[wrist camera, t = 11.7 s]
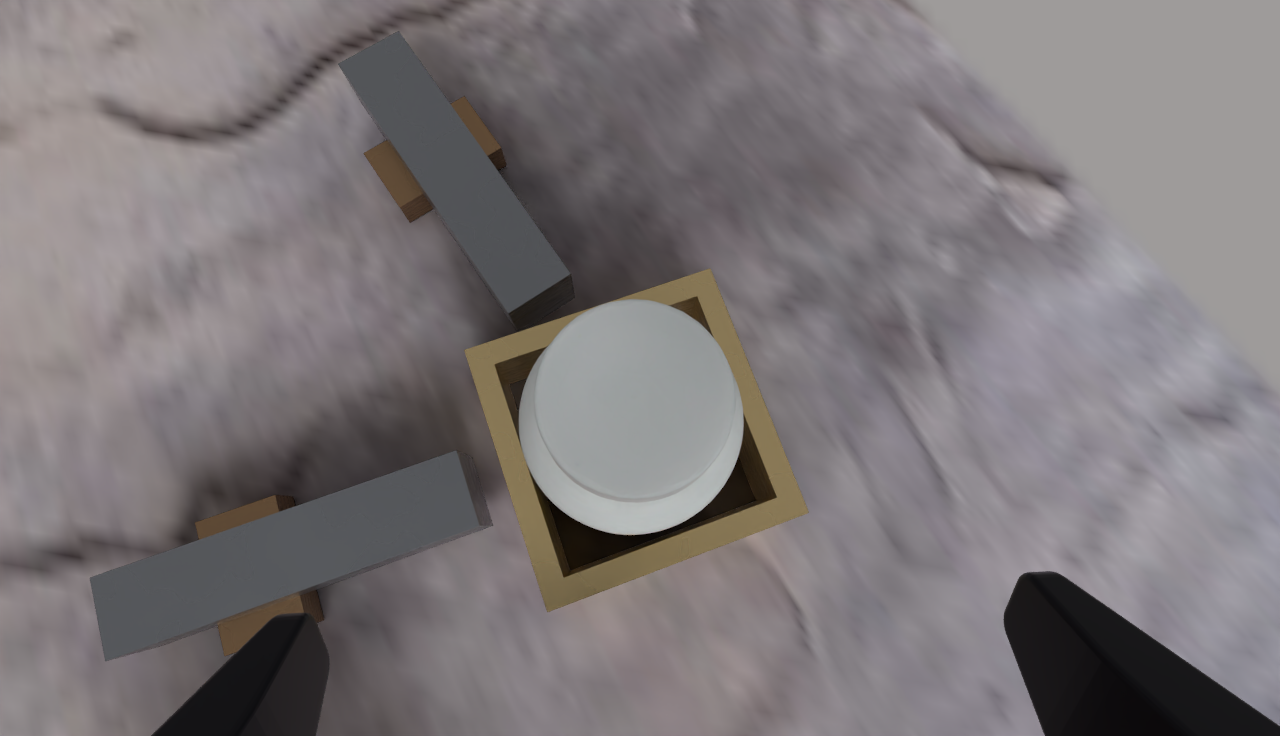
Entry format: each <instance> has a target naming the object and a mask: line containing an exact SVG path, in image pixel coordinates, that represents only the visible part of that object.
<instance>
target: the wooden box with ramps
mask: <svg viewBox="0 0 1280 736" xmlns="http://www.w3.org/2000/svg"><path fill="white" fill-rule="evenodd" d="M338 65H339V67H340V68H341V70H342V71H343V73H344V75H345V76H346V78H347V80H348V81H349V83H350V85H351V86H352V88H353V90H354V91H355V93H356V95H357V96H358V98H359V100H360V101H361V103H362V105H363V106H364V108H365V109H366V111H367V112H368V114H369V115H370V117H371V118H372V119H373V121H374V122H375V124H376V125H377V127H378V128H379V130H380V131H381V133H382V134H383V136H384V137H385V138H386V141H384V142H383V143H381V144H379V145H377V146H376V147H374V148H372V149H370V150H369V151H367V152H365V153H364V155H365V156H366V158H367V159H368V161H369V162H370V164H371V165H372V167H373V168H374V170H375V171H376V173H377V174H378V176H379V177H380V179H381V180H382V182H383V183H384V185H385V186H386V188H387V189H388V191H389V192H390V194H391V195H392V197H393V198H394V200H395V201H396V203H397V204H398V205H399V207H400V208H401V210H402V211H403V213H404V214H405V216H406V217H407V219H408V220H409V222H412V221H414V220H415V219H417V218H419V217H420V216H422V215H424V214H425V213H427V212H429V211H431V210H432V209H434V210H435V212H436V213H437V215H438V216H439V218H440V219H441V221H442V222H443V224H444V225H445V226H446V228H447V229H448V231H449V232H450V234H451V235H452V237H453V238H454V240H455V241H456V243H457V244H458V246H459V247H460V248H461V250H462V251H463V253H464V254H465V256H466V257H467V259H468V260H469V262H470V263H471V265H472V266H473V268H474V269H475V270H476V272H477V273H478V275H479V276H480V278H481V279H482V281H483V282H484V284H485V285H486V287H487V288H488V290H489V291H490V292H491V294H492V295H493V297H494V298H495V300H496V301H497V303H498V304H499V306H500V307H501V309H502V310H503V312H504V313H505V314H506V316H507V317H508V319H509V320H510V322H511V323H512V325H513V326H514V328H515V329H516V331H517V333H514V334H511V335H508V336H505V337H502V338H499V339H496V340H493V341H490V342H487V343H484V344H481V345H478V346H475V347H472V348H469V349H466V350H464V351H465V354H466V357H467V361H468V364H469V367H470V370H471V373H472V376H473V379H474V383H475V386H476V389H477V392H478V395H479V398H480V402H481V405H482V408H483V411H484V414H485V417H486V420H487V424H488V427H489V430H490V433H491V436H492V439H493V443H494V446H495V449H496V452H497V455H498V458H499V462H500V465H501V468H502V471H503V474H504V477H505V480H506V484H507V487H508V490H509V493H510V496H511V499H512V503H513V506H514V509H515V512H516V515H517V518H518V521H519V525H520V528H521V531H522V534H523V537H524V540H525V544H526V547H527V550H528V553H529V556H530V559H531V562H532V566H533V569H534V572H535V575H536V578H537V581H538V585H539V588H540V591H541V594H542V597H543V600H544V603H545V607H546V610H547V612H550V611H552V610H555V609H557V608H560V607H563V606H565V605H568V604H571V603H573V602H576V601H578V600H581V599H584V598H586V597H589V596H592V595H594V594H597V593H599V592H602V591H605V590H607V589H610V588H613V587H615V586H618V585H620V584H623V583H626V582H628V581H631V580H634V579H636V578H639V577H641V576H644V575H647V574H649V573H652V572H655V571H657V570H660V569H662V568H665V567H668V566H670V565H673V564H676V563H678V562H681V561H683V560H686V559H689V558H691V557H694V556H697V555H699V554H702V553H705V552H707V551H710V550H712V549H715V548H718V547H720V546H723V545H726V544H728V543H731V542H733V541H736V540H739V539H741V538H744V537H747V536H749V535H752V534H754V533H757V532H760V531H762V530H765V529H768V528H770V527H773V526H775V525H778V524H781V523H783V522H786V521H789V520H791V519H794V518H796V517H799V516H802V515H804V514H807V513H809V512H808V509H807V507H806V504H805V502H804V499H803V497H802V494H801V492H800V489H799V487H798V484H797V482H796V479H795V477H794V474H793V472H792V469H791V467H790V464H789V462H788V460H787V457H786V455H785V452H784V450H783V447H782V445H781V442H780V440H779V437H778V435H777V432H776V430H775V427H774V425H773V422H772V420H771V417H770V415H769V413H768V410H767V408H766V405H765V403H764V400H763V398H762V395H761V393H760V390H759V388H758V385H757V383H756V380H755V378H754V375H753V373H752V370H751V368H750V365H749V363H748V361H747V358H746V356H745V353H744V351H743V348H742V346H741V343H740V341H739V338H738V336H737V333H736V331H735V328H734V326H733V323H732V321H731V318H730V316H729V314H728V311H727V309H726V306H725V304H724V301H723V299H722V296H721V294H720V291H719V289H718V286H717V284H716V281H715V279H714V276H713V274H712V271H711V269H707V270H704V271H701V272H698V273H695V274H692V275H689V276H686V277H683V278H680V279H677V280H674V281H670V282H667V283H664V284H661V285H658V286H655V287H652V288H649V289H646V290H643V291H640V292H637V293H634V294H631V295H628V296H625V297H622V298H619V299H616V300H613V301H610V302H614V301H620V300H628V299H639V300H650V301H655V302H659V303H662V304H665V305H668V306H671V307H673V308H676V309H678V310H680V311H683V312H684V313H686V314H687V315H689V316H690V317H692V318H693V319H695V320H696V321H698V322H699V323H700V324H701V325H702V326H703V327H704V328H705V329H706V330H707V331H708V332H709V333H710V334H711V335H712V337H713V338H714V339H715V340H716V341H717V343H718V344H719V346H720V347H721V349H722V351H723V353H724V355H725V357H726V359H727V361H728V363H729V366H730V368H731V370H732V373H733V375H734V378H735V380H736V382H737V385H738V388H739V392H740V396H741V401H742V406H743V418H744V427H743V438H742V443H741V448H740V452H739V455H738V457H739V459H740V462H741V464H742V467H743V469H744V472H745V475H746V477H747V480H748V482H749V485H750V487H751V490H752V492H753V495H754V498H755V500H756V501H754V502H751V503H749V504H746V505H743V506H741V507H738V508H735V509H733V510H730V511H727V512H725V513H722V514H719V515H717V516H714V517H711V518H709V519H706V520H703V521H701V522H698V523H695V524H693V525H690V526H687V527H685V528H682V529H679V530H677V531H674V532H671V533H669V534H666V535H663V536H661V537H658V538H655V539H653V540H650V541H647V542H645V543H642V544H639V545H637V546H634V547H631V548H629V549H626V550H623V551H621V552H618V553H615V554H613V555H610V556H607V557H605V558H602V559H599V560H597V561H594V562H591V563H589V564H586V565H583V566H581V567H578V568H575V569H573V570H570V568H569V565H568V562H567V559H566V556H565V552H564V549H563V546H562V543H561V540H560V537H559V534H558V531H557V528H556V525H555V522H554V519H553V516H552V513H551V510H550V507H549V504H548V501H547V498H546V495H545V494H544V493H543V491H542V490H541V489H540V487H539V486H538V484H537V483H536V481H535V479H534V478H533V476H532V474H531V472H530V470H529V468H528V466H527V463H526V460H525V457H524V454H523V451H522V447H521V442H520V435H519V412H518V409H517V406H516V403H515V400H514V397H513V394H512V391H511V388H510V385H509V384H512V383H515V382H518V381H521V380H524V379H527V378H528V376H529V374H530V371H531V370H532V368H533V366H534V364H535V363H536V361H537V359H538V358H539V356H540V355H541V354H542V352H543V351H544V350H545V349H546V348H547V347H548V345H549V344H550V343H551V342H552V341H553V340H554V338H555V337H556V336H557V334H558V333H559V332H560V331H561V330H562V329H563V328H564V327H565V326H566V325H567V324H569V323H570V322H571V321H572V320H573V319H575V318H576V317H577V316H579V315H581V314H582V313H584V312H586V311H588V310H590V309H592V308H594V307H592V308H589V309H586V310H583V311H580V312H577V313H574V314H571V315H568V316H565V317H562V318H559V319H556V320H553V321H550V322H547V323H544V324H541V325H538V326H535V327H532V328H529V329H526V328H528V327H529V326H531V325H533V324H534V323H536V322H537V321H539V320H540V319H542V318H543V317H545V316H547V315H548V314H550V313H551V312H553V311H554V310H556V309H558V308H559V307H561V306H562V305H564V304H565V303H567V302H568V301H570V300H572V299H573V298H575V295H574V289H573V283H572V278H571V273H570V272H569V270H568V269H567V268H566V266H565V265H564V263H563V262H562V261H561V259H560V258H559V256H558V255H557V254H556V252H555V251H554V249H553V248H552V247H551V245H550V244H549V242H548V241H547V239H546V238H545V237H544V235H543V234H542V232H541V231H540V230H539V228H538V227H537V225H536V224H535V223H534V221H533V220H532V218H531V217H530V216H529V214H528V213H527V211H526V210H525V208H524V207H523V206H522V204H521V203H520V201H519V200H518V199H517V197H516V196H515V194H514V193H513V192H512V190H511V189H510V187H509V186H508V185H507V183H506V182H505V180H504V179H503V177H502V176H501V175H500V173H499V172H498V170H500V169H501V168H503V167H505V166H506V162H505V159H504V156H503V152H502V149H501V147H500V145H499V144H498V143H497V141H496V140H495V138H494V137H493V136H492V134H491V133H490V131H489V130H488V129H487V127H486V126H485V124H484V123H483V122H482V120H481V119H480V117H479V116H478V115H477V113H476V112H475V110H474V109H473V108H472V106H471V105H470V103H469V102H468V101H467V99H466V98H465V96H464V97H462V98H460V99H458V100H456V101H455V102H453V103H451V104H450V103H449V101H448V100H447V99H446V97H445V96H444V94H443V93H442V92H441V90H440V89H439V87H438V86H437V85H436V83H435V82H434V80H433V79H432V77H431V76H430V75H429V73H428V72H427V70H426V69H425V68H424V66H423V65H422V63H421V62H420V61H419V59H418V58H417V56H416V55H415V54H414V52H413V51H412V49H411V48H410V46H409V45H408V44H407V42H406V41H405V39H404V38H403V37H402V35H401V34H400V32H399V31H398V32H396V33H394V34H392V35H390V36H389V37H387V38H385V39H383V40H381V41H379V42H377V43H376V44H374V45H372V46H370V47H368V48H366V49H365V50H363V51H361V52H359V53H357V54H355V55H353V56H352V57H350V58H348V59H346V60H344V61H342V62H341V63H339V64H338ZM607 303H608V302H607ZM604 304H605V303H604ZM601 305H602V304H601ZM598 306H599V305H598ZM595 307H597V306H595ZM525 329H526V330H525ZM195 525H196V529H197V534H198V538H199V540H197V541H194V542H191V543H188V544H186V545H183V546H180V547H177V548H174V549H171V550H168V551H165V552H163V553H160V554H157V555H154V556H151V557H148V558H145V559H142V560H140V561H137V562H134V563H131V564H128V565H125V566H122V567H119V568H117V569H114V570H111V571H108V572H105V573H102V574H99V575H97V576H94V577H91V578H90V582H91V587H92V592H93V598H94V603H95V608H96V614H97V619H98V624H99V630H100V635H101V640H102V646H103V651H104V657H105V661H109V660H112V659H116V658H119V657H123V656H127V655H130V654H134V653H138V652H141V651H145V650H149V649H152V648H156V647H160V646H163V645H165V644H168V643H171V642H174V641H176V640H179V639H182V638H185V637H187V636H190V635H193V634H196V633H198V632H201V631H204V630H207V629H210V628H212V627H215V626H218V629H219V633H220V638H221V642H222V647H223V651H224V656H227V655H230V654H233V653H236V652H237V651H238V650H239V649H240V648H241V647H242V646H243V645H244V644H245V643H246V642H247V641H248V640H250V639H251V638H252V637H253V636H254V635H255V634H256V633H257V632H258V631H259V630H260V629H261V628H262V627H263V626H264V625H265V624H266V623H267V622H268V621H269V620H270V619H272V618H273V617H275V616H277V615H280V614H289V613H309V614H311V615H312V616H313V617H314V618H315V620H316V623H318V622H321V621H323V620H324V617H323V613H322V609H321V605H320V601H319V597H318V593H317V589H320V588H322V587H325V586H328V585H331V584H334V583H336V582H339V581H342V580H345V579H347V578H350V577H353V576H356V575H358V574H361V573H364V572H367V571H369V570H372V569H375V568H378V567H380V566H383V565H386V564H389V563H391V562H394V561H397V560H400V559H402V558H405V557H408V556H411V555H413V554H416V553H419V552H422V551H424V550H427V549H430V548H433V547H435V546H438V545H441V544H444V543H446V542H449V541H452V540H455V539H458V538H460V537H463V536H466V535H469V534H471V533H474V532H477V531H480V530H482V529H485V528H488V527H491V526H493V523H492V520H491V517H490V513H489V510H488V507H487V504H486V501H485V497H484V494H483V491H482V488H481V484H480V481H479V478H478V475H477V471H476V468H475V465H474V462H473V458H472V457H470V456H468V455H466V454H464V453H461V452H459V451H457V450H455V451H453V452H450V453H447V454H444V455H441V456H438V457H435V458H433V459H430V460H427V461H424V462H421V463H418V464H415V465H412V466H410V467H407V468H404V469H401V470H398V471H395V472H392V473H389V474H387V475H384V476H381V477H378V478H375V479H372V480H369V481H366V482H364V483H361V484H358V485H355V486H352V487H349V488H346V489H343V490H341V491H338V492H335V493H332V494H329V495H326V496H323V497H321V498H318V499H315V500H312V501H309V502H306V503H303V504H300V505H298V506H295V502H294V498H293V496H282V495H273V496H270V497H268V498H265V499H262V500H259V501H256V502H253V503H250V504H247V505H244V506H241V507H239V508H236V509H233V510H230V511H227V512H224V513H221V514H218V515H215V516H213V517H210V518H207V519H204V520H201V521H198V522H195Z"/></svg>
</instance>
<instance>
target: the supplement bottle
mask: <svg viewBox="0 0 1280 736" xmlns="http://www.w3.org/2000/svg"><path fill="white" fill-rule="evenodd" d="M743 427H744V418H743V406H742V401H741V396H740V392H739V388H738V385H737V382H736V380H735V378H734V375H733V373H732V370H731V368H730V366H729V363H728V361H727V359H726V357H725V355H724V353H723V351H722V349H721V347H720V346H719V344H718V343H717V341H716V340H715V339H714V338H713V337H712V335H711V334H710V333H709V332H708V331H707V330H706V329H705V328H704V327H703V326H702V325H701V324H700V323H699V322H698V321H696V320H695V319H693V318H692V317H690V316H689V315H687V314H686V313H684V312H683V311H680V310H678V309H676V308H673V307H671V306H668V305H665V304H662V303H659V302H655V301H650V300H639V299H628V300H620V301H614V302H608V303H605V304H602V305H599V306H597V307H594V308H592V309H590V310H588V311H586V312H584V313H582V314H581V315H579V316H577V317H576V318H575V319H573V320H572V321H571V322H570V323H569V324H567V325H566V326H565V327H564V328H563V329H562V330H561V331H560V332H559V333H558V334H557V336H556V337H555V338H554V340H553V341H552V342H551V343H550V344H549V345H548V347H547V348H546V349H545V350H544V351H543V352H542V354H541V355H540V356H539V358H538V359H537V361H536V363H535V364H534V366H533V368H532V370H531V371H530V374H529V376H528V378H527V381H526V383H525V386H524V389H523V393H522V397H521V402H520V408H519V435H520V442H521V447H522V451H523V454H524V457H525V460H526V463H527V466H528V468H529V470H530V472H531V474H532V476H533V478H534V479H535V481H536V483H537V484H538V486H539V487H540V489H541V490H542V491H543V493H544V494H545V495H546V496H547V497H548V498H549V499H550V500H551V501H552V503H553V504H555V505H556V506H557V507H558V508H559V509H560V510H562V511H563V512H564V513H566V514H567V515H568V516H570V517H571V518H573V519H575V520H577V521H579V522H580V523H582V524H584V525H587V526H589V527H591V528H594V529H597V530H601V531H604V532H608V533H613V534H621V535H639V534H648V533H654V532H658V531H662V530H665V529H668V528H671V527H673V526H676V525H678V524H680V523H682V522H684V521H686V520H688V519H689V518H691V517H692V516H694V515H695V514H697V513H698V512H699V511H701V510H702V509H703V508H704V507H706V506H707V505H708V504H709V503H710V502H711V501H712V500H713V499H714V498H715V496H716V495H717V494H718V493H719V492H720V490H721V489H722V488H723V486H724V485H725V483H726V482H727V480H728V478H729V476H730V475H731V473H732V471H733V469H734V466H735V464H736V461H737V458H738V455H739V452H740V448H741V443H742V438H743Z"/></svg>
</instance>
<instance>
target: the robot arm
mask: <svg viewBox="0 0 1280 736" xmlns="http://www.w3.org/2000/svg"><path fill="white" fill-rule="evenodd" d="M1004 627H1005V631H1006V635H1007V637H1008V640H1009V642H1010V645H1011V648H1012V650H1013V653H1014V656H1015V658H1016V661H1017V664H1018V666H1019V669H1020V671H1021V674H1022V677H1023V679H1024V682H1025V685H1026V687H1027V690H1028V693H1029V695H1030V698H1031V701H1032V703H1033V706H1034V708H1035V711H1036V714H1037V716H1038V719H1039V722H1040V724H1041V727H1042V730H1043V732H1044V734H1045V736H1280V726H1279V725H1277V724H1276V723H1274V722H1273V721H1272V720H1270V719H1269V718H1267V717H1266V716H1264V715H1263V714H1261V713H1260V712H1259V711H1257V710H1256V709H1254V708H1253V707H1251V706H1250V705H1248V704H1247V703H1246V702H1244V701H1243V700H1241V699H1240V698H1238V697H1237V696H1236V695H1234V694H1233V693H1231V692H1230V691H1228V690H1227V689H1225V688H1224V687H1223V686H1221V685H1220V684H1218V683H1217V682H1215V681H1214V680H1212V679H1211V678H1210V677H1208V676H1207V675H1205V674H1204V673H1202V672H1201V671H1199V670H1198V669H1197V668H1195V667H1194V666H1192V665H1191V664H1189V663H1188V662H1186V661H1185V660H1184V659H1182V658H1181V657H1179V656H1178V655H1176V654H1175V653H1174V652H1172V651H1171V650H1169V649H1168V648H1166V647H1165V646H1163V645H1162V644H1161V643H1159V642H1158V641H1156V640H1155V639H1153V638H1152V637H1150V636H1149V635H1148V634H1146V633H1145V632H1143V631H1142V630H1140V629H1139V628H1137V627H1136V626H1135V625H1133V624H1132V623H1130V622H1129V621H1127V620H1126V619H1124V618H1123V617H1122V616H1120V615H1119V614H1117V613H1116V612H1114V611H1113V610H1112V609H1110V608H1109V607H1107V606H1106V605H1104V604H1103V603H1101V602H1100V601H1099V600H1097V599H1096V598H1094V597H1093V596H1091V595H1090V594H1088V593H1087V592H1086V591H1084V590H1083V589H1081V588H1080V587H1078V586H1077V585H1075V584H1074V583H1073V582H1071V581H1070V580H1068V579H1067V578H1065V577H1064V576H1062V575H1060V574H1058V573H1056V572H1050V571H1046V572H1028V573H1024V574H1023V575H1021V576H1020V577H1019V579H1018V581H1017V583H1016V586H1015V588H1014V590H1013V593H1012V595H1011V597H1010V600H1009V602H1008V605H1007V607H1006V609H1005V612H1004ZM329 665H330V662H329V653H328V650H327V648H326V645H325V643H324V640H323V638H322V635H321V633H320V630H319V628H318V625H317V623H316V620H315V618H314V617H313V616H312V615H311V614H309V613H289V614H280V615H277V616H275V617H273V618H272V619H270V620H269V621H268V622H267V623H266V624H265V625H264V626H263V627H262V628H261V629H260V630H259V631H258V632H257V633H256V634H255V635H254V636H253V637H252V638H251V639H250V640H248V641H247V642H246V643H245V644H244V645H243V646H242V647H241V648H240V649H239V650H238V651H237V652H236V653H235V654H234V655H233V656H232V657H231V658H230V659H229V660H228V661H227V662H226V663H225V664H224V665H223V666H222V667H221V668H220V669H219V670H218V671H217V672H216V673H215V674H214V675H213V676H212V677H211V678H210V679H209V680H208V681H207V682H206V683H205V684H204V685H203V686H202V687H200V688H199V689H198V690H197V691H196V692H195V693H194V694H193V695H192V696H191V697H190V698H189V699H188V700H187V701H186V702H185V703H184V704H183V705H182V706H181V707H180V708H179V709H178V710H177V711H176V712H175V713H174V714H173V715H172V716H171V717H170V718H169V719H168V720H167V721H166V722H165V723H164V724H163V725H162V726H161V727H160V728H159V729H158V730H157V731H156V732H155V733H154V734H152V735H151V736H316V732H317V727H318V722H319V717H320V712H321V708H322V703H323V698H324V693H325V688H326V683H327V679H328V674H329Z"/></svg>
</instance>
